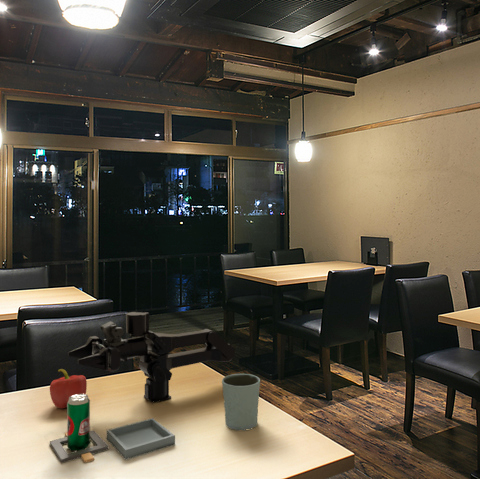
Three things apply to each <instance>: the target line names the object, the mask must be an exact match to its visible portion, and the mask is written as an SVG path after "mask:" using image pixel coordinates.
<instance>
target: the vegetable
mask: <svg viewBox="0 0 480 479" xmlns="http://www.w3.org/2000/svg"><path fill="white" fill-rule="evenodd" d="M57 372H58V373H62V374H63V376H62V377H59V378H57V379H53V380H52V381H51V383H50V385H49V394H50V398H51V401H52V402H51V403H53V405H54V406H55V407H56V408H58V409H65V408H67V402H68V401H69V397H70V396H72V395H76V394H86V395H87V386H88V381H87V378H86V376H84V375H83V374H82V375H81V374H80V375H77V374H75V375H73V374H72V375H69V374H68V372H67V371H66V370H65V369H63V368H60V369H58V370H57Z"/></svg>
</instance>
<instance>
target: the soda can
mask: <svg viewBox="0 0 480 479" xmlns="http://www.w3.org/2000/svg"><path fill="white" fill-rule="evenodd" d="M66 408H67V409H66V410H67V413H66V416H67V417H66V418H67V419H66V420H67V421H66V424H67V425H66V428H67V429H66V430H67V443H66V444H67V449H68V450H69V451H72V452H76V451H79V450H83V449H87V448H89V446H90V444H91V439H90V431H91V400H90V398H89V395H88V394H87V393H86V394H76V395H72V396H70V397H69V401H68V402H67V407H66Z"/></svg>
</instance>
